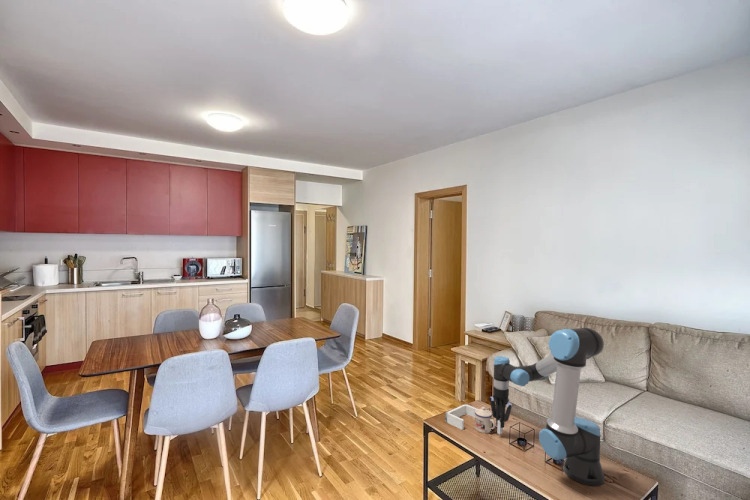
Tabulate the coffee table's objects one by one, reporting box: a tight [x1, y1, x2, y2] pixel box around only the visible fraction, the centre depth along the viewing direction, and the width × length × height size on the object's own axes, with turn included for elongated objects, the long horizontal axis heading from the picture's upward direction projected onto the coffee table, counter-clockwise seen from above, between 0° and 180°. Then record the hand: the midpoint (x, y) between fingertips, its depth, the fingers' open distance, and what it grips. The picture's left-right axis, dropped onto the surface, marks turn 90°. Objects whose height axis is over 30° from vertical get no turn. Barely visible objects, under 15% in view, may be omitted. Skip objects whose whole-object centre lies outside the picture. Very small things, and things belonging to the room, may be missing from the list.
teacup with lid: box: [474, 406, 496, 434], centre depth 190 cm, size 12×9×12 cm
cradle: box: [444, 403, 478, 431], centre depth 201 cm, size 12×19×5 cm, turn 130°
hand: (500, 432), depth 184 cm, fingers closed
